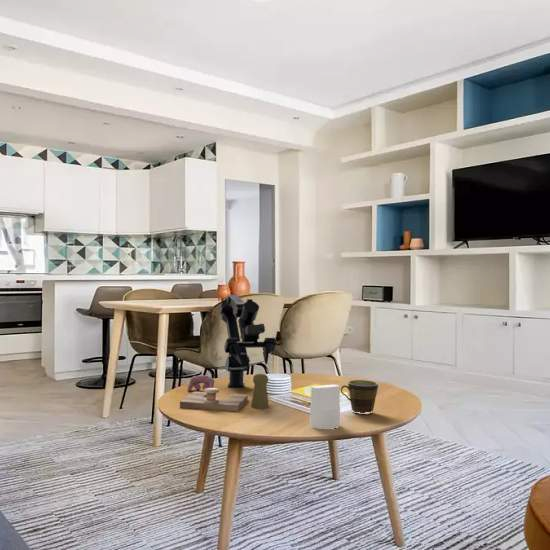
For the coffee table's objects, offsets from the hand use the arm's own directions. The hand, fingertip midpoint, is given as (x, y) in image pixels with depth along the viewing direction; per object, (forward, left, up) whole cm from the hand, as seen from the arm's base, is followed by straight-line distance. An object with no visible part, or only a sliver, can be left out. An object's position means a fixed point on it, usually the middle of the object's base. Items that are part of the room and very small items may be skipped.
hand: (254, 363), depth 193 cm
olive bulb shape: (+8, +2, -13) cm, 16 cm away
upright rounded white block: (+30, +22, -14) cm, 39 cm away
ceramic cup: (+14, +35, -13) cm, 40 cm away
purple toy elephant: (-15, -21, -14) cm, 29 cm away
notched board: (+5, -13, -13) cm, 20 cm away
